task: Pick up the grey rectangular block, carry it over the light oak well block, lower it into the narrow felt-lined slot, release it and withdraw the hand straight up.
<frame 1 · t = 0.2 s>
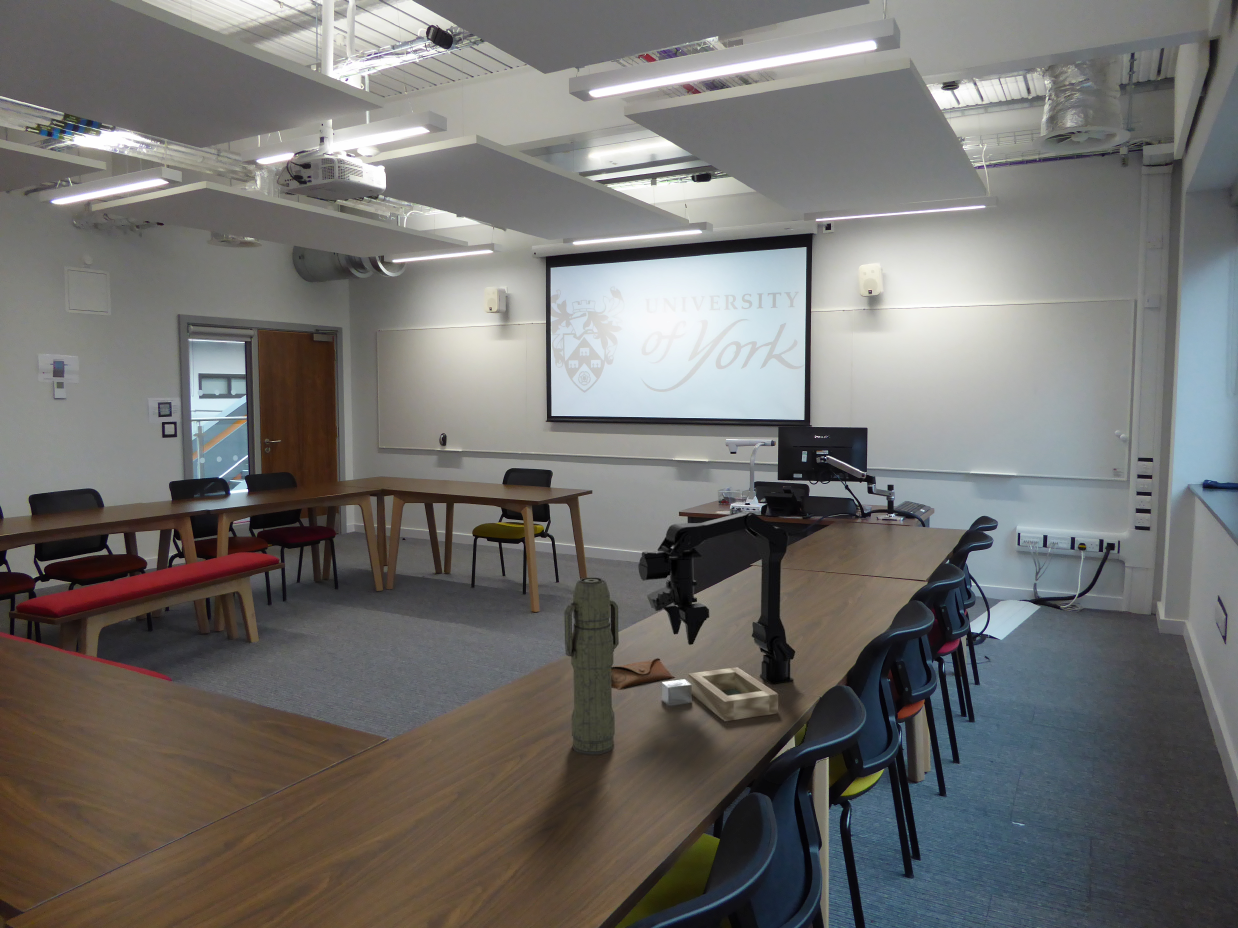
hand: (683, 639, 195), 13 cm above the table, fingers open, 9 cm apart
sunglasses case: (639, 681, 206), on the table
thermos: (593, 746, 166), on the table
grey rectangular block: (676, 701, 190), on the table
well: (731, 701, 190), on the table
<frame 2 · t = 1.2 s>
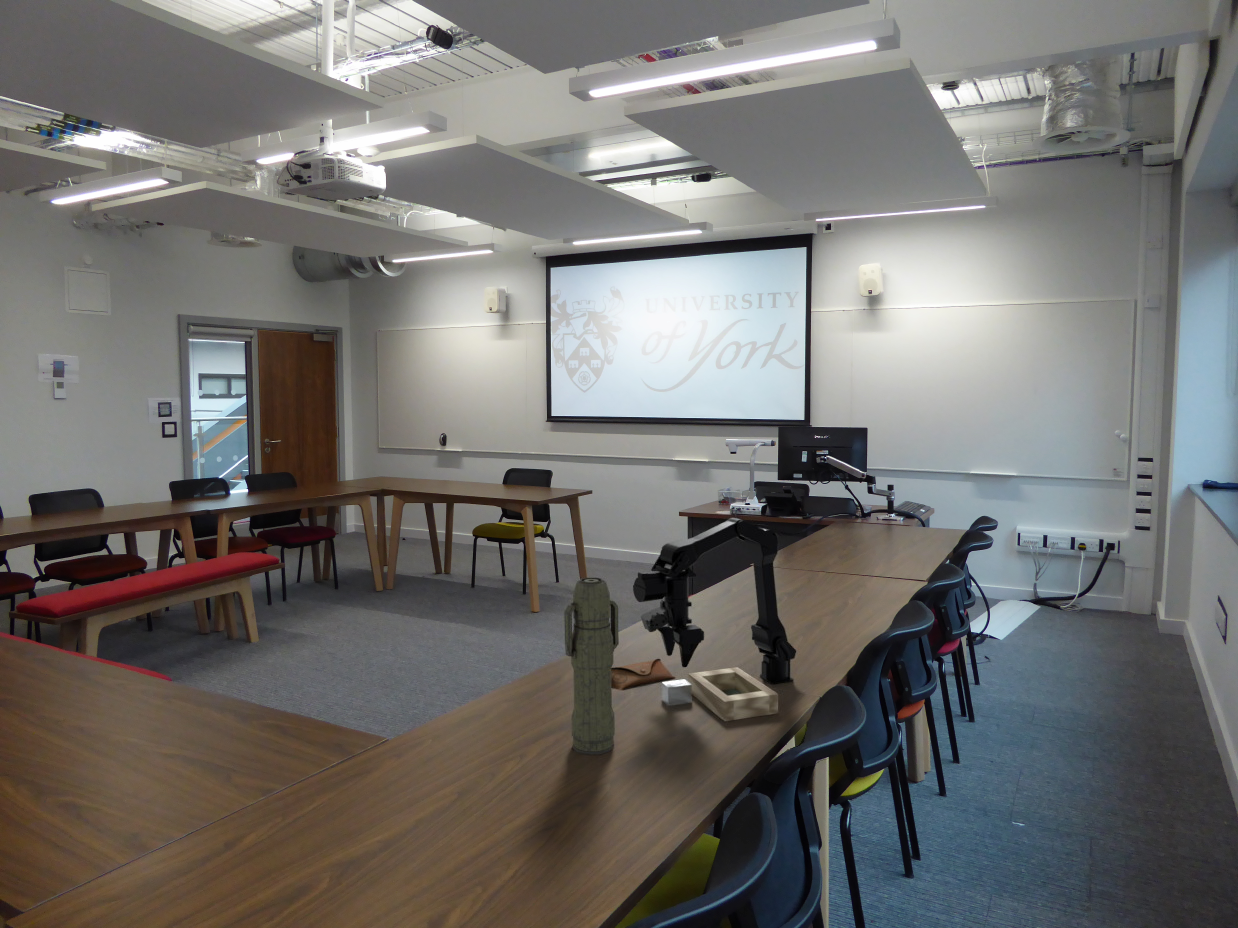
hand: (676, 661, 190), 10 cm above the table, fingers open, 9 cm apart
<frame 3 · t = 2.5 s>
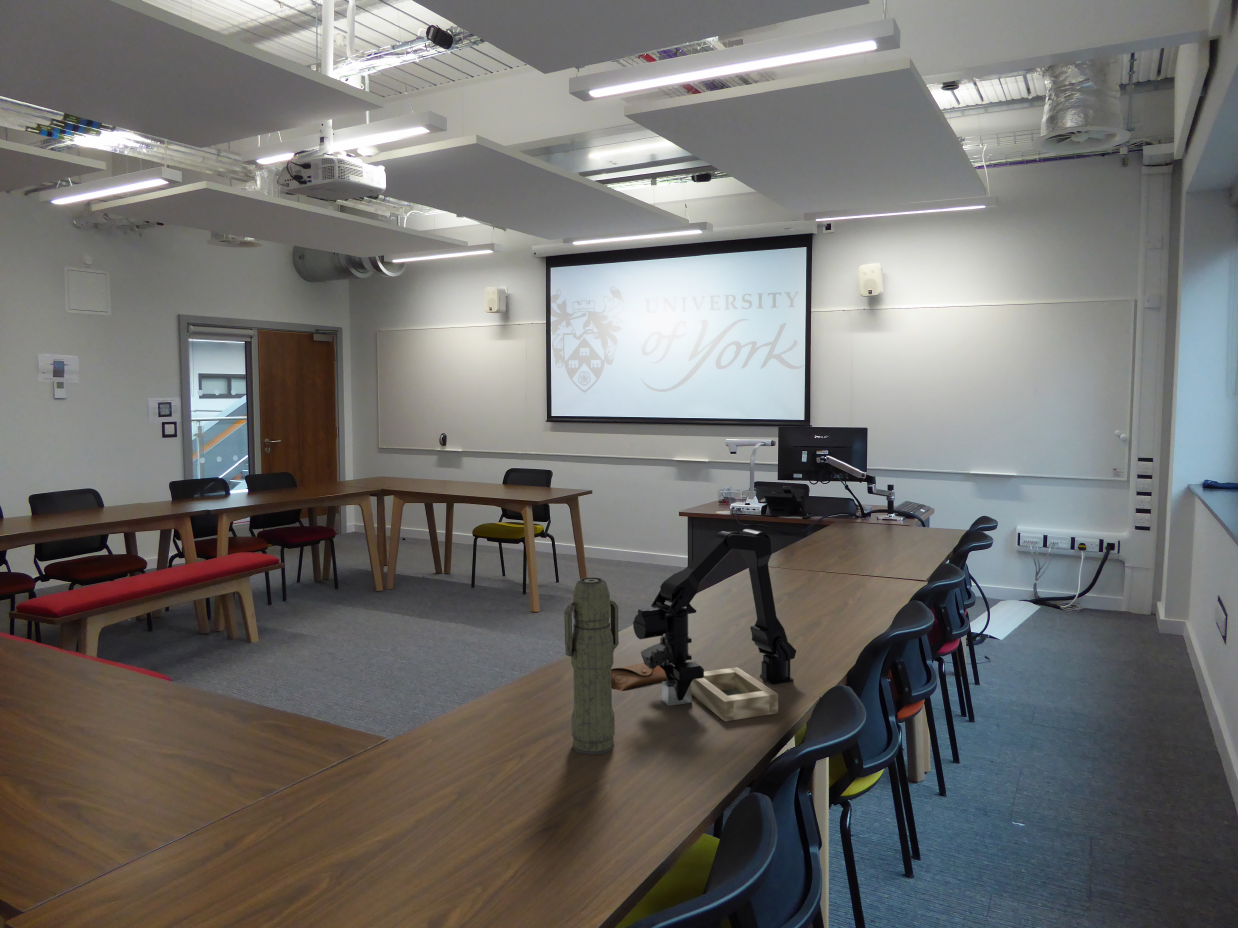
hand: (676, 696, 190), 1 cm above the table, fingers closed on grey rectangular block, 4 cm apart
grey rectangular block: (676, 701, 190), on the table, touching gripper
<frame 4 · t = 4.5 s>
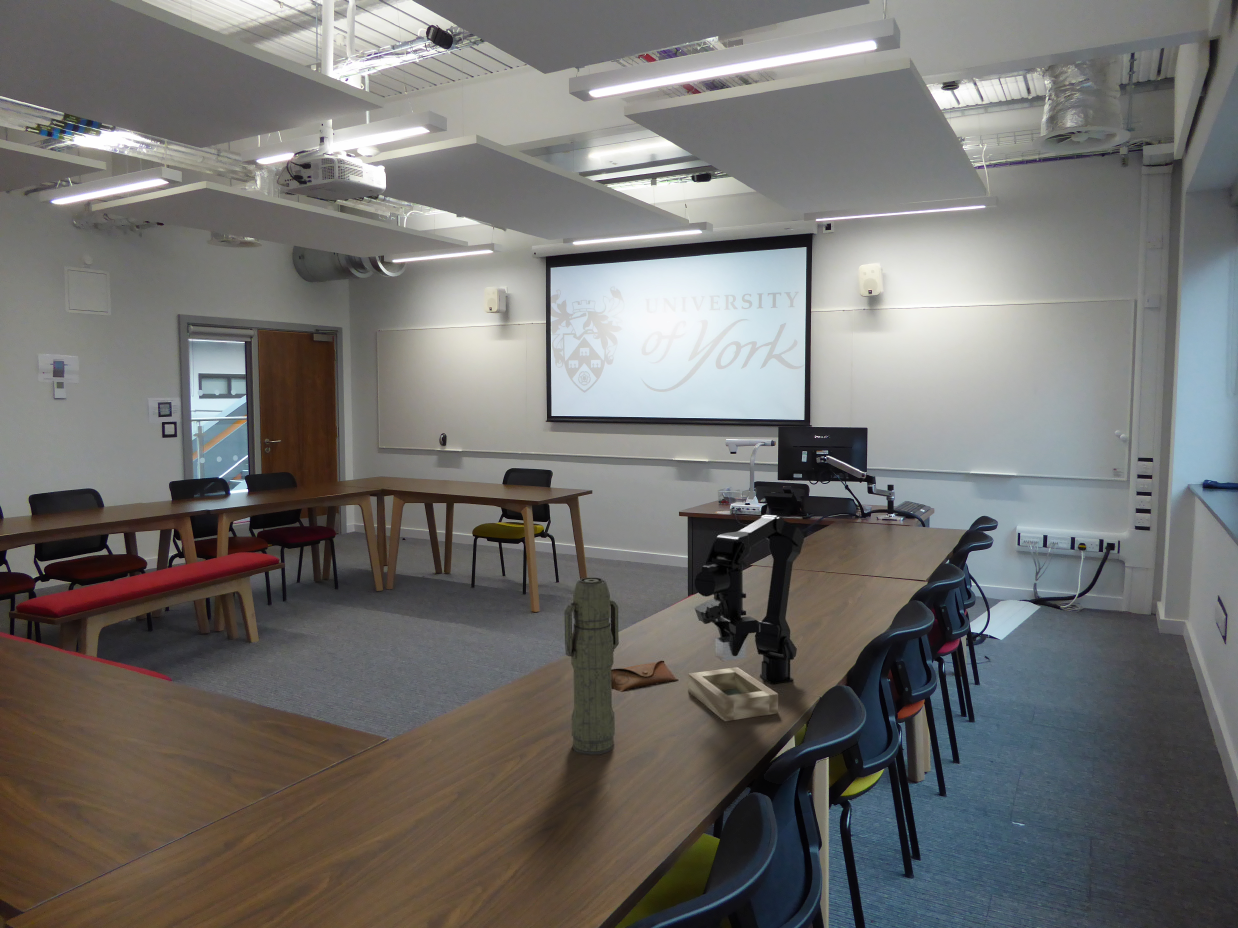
hand: (730, 653, 189), 12 cm above the table, fingers closed on grey rectangular block, 4 cm apart
grey rectangular block: (730, 657, 189), point 11 cm above the table, touching gripper
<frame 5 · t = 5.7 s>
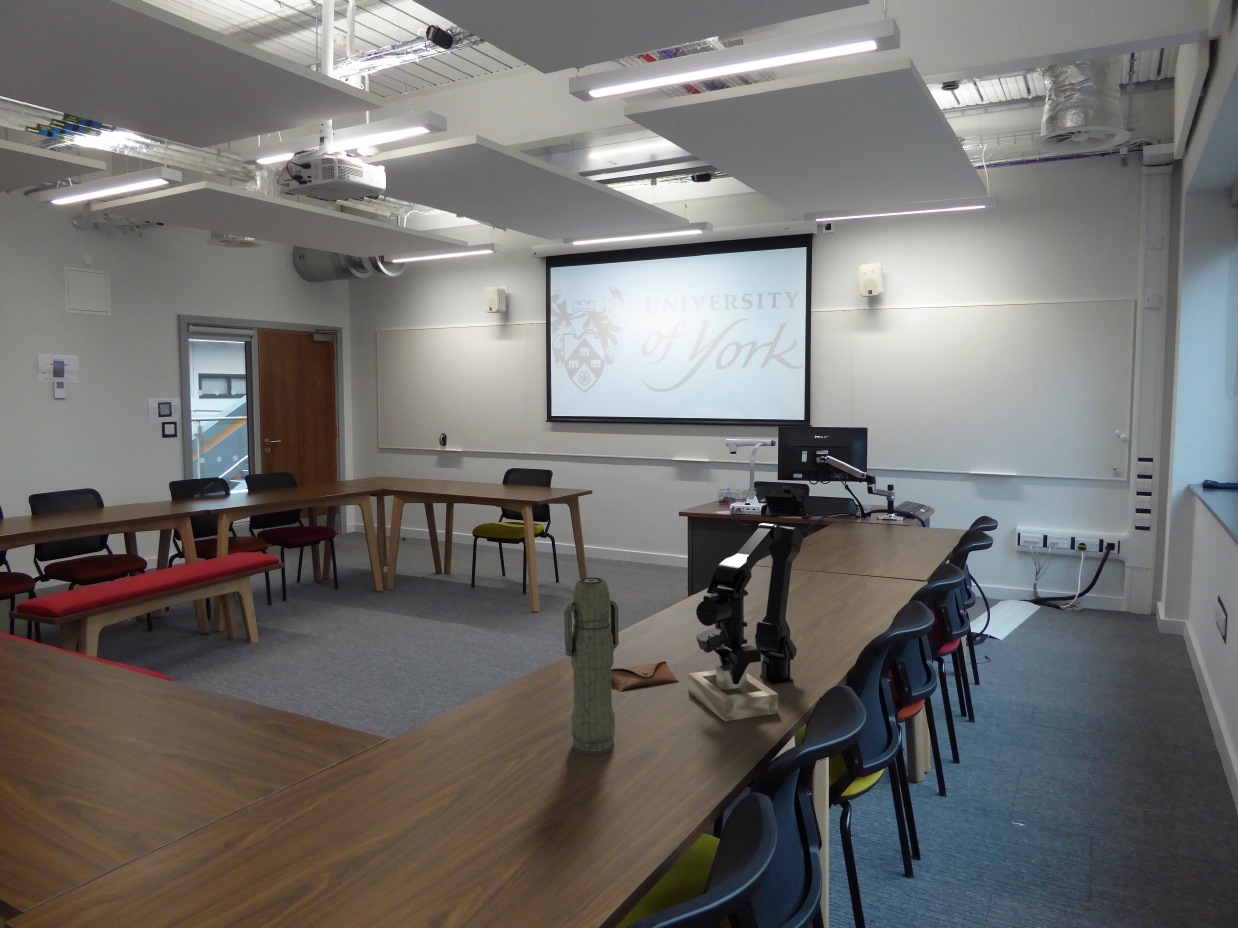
hand: (731, 681, 189), 5 cm above the table, fingers closed on grey rectangular block, 4 cm apart
grey rectangular block: (731, 685, 189), point 4 cm above the table, touching gripper
when the fingers open (2 cm above the table, at t = 6.5 s): grey rectangular block drops 1 cm, resting on well.
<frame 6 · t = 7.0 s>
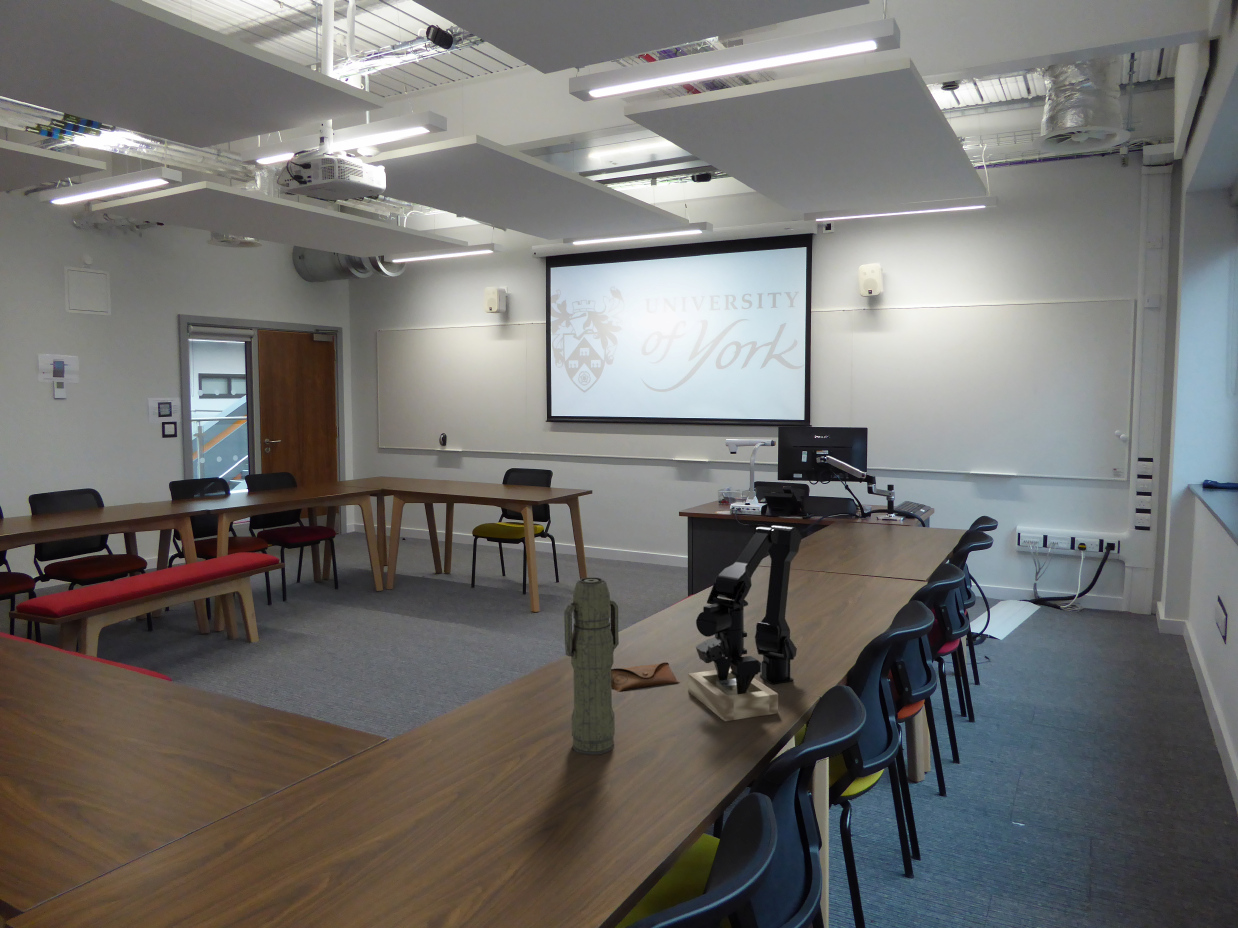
hand: (731, 691, 189), 2 cm above the table, fingers open, 9 cm apart
grey rectangular block: (731, 700, 190), resting on well
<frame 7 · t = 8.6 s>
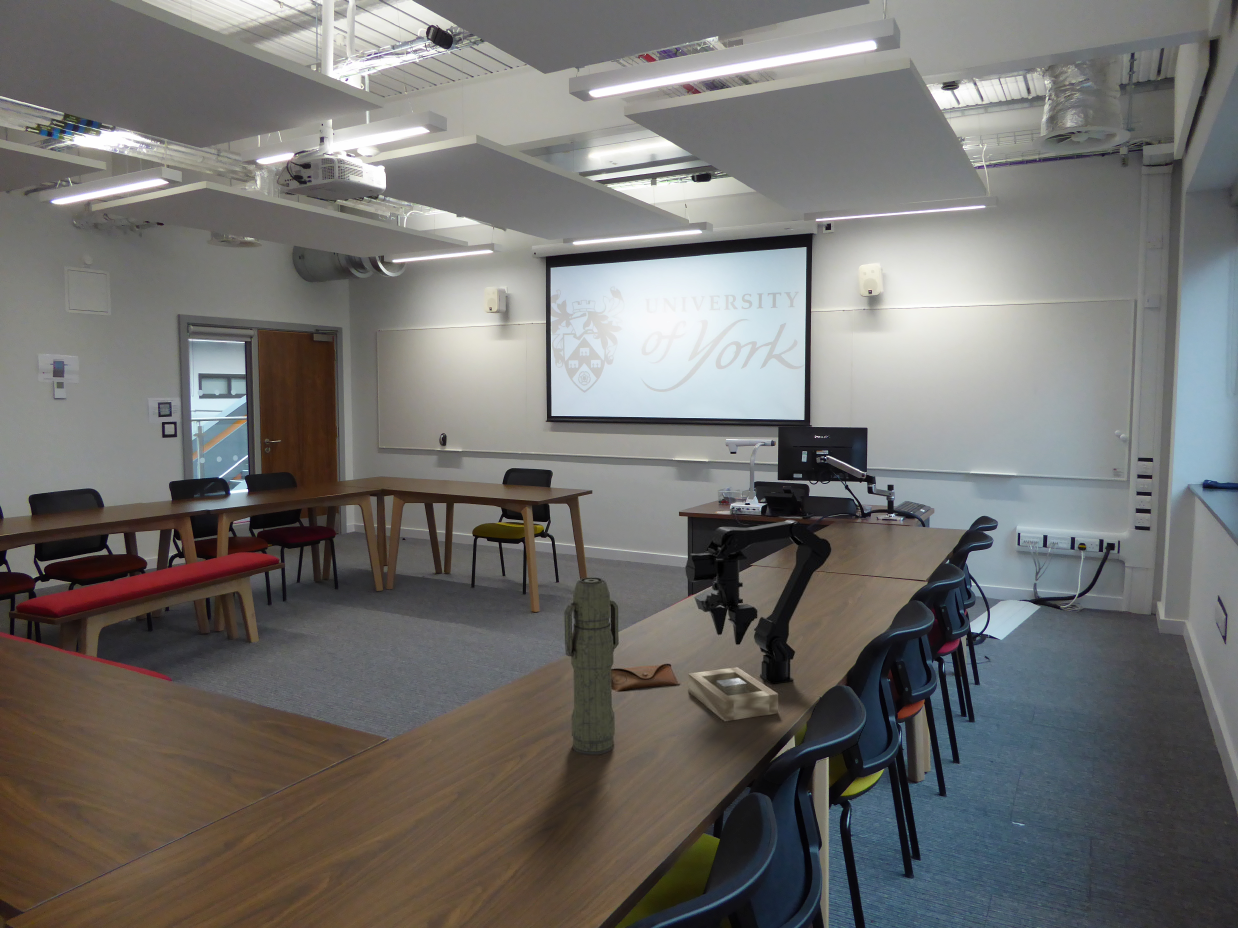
hand: (728, 639, 200), 12 cm above the table, fingers open, 9 cm apart
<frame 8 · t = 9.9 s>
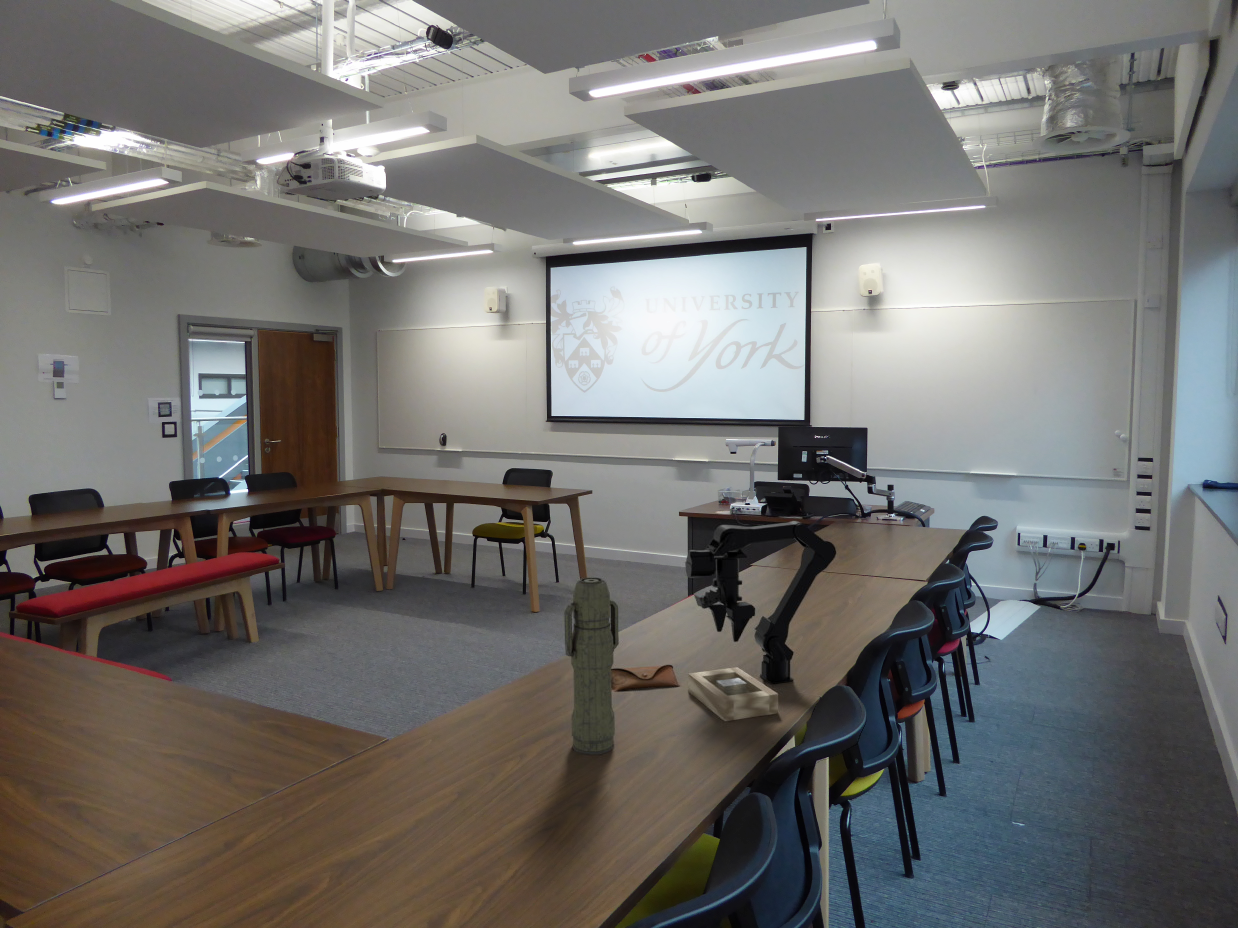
hand: (727, 636, 202), 12 cm above the table, fingers open, 9 cm apart
at the end: grey rectangular block inside the target area on the well (0.0 cm from its centre), point 0.3 cm above the well's base; grey rectangular block tilted 0°; the gripper is holding nothing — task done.
